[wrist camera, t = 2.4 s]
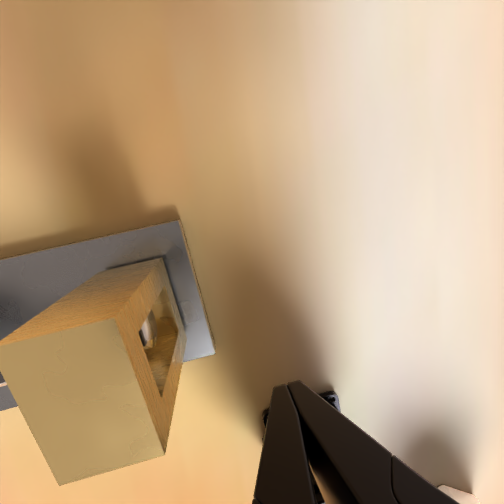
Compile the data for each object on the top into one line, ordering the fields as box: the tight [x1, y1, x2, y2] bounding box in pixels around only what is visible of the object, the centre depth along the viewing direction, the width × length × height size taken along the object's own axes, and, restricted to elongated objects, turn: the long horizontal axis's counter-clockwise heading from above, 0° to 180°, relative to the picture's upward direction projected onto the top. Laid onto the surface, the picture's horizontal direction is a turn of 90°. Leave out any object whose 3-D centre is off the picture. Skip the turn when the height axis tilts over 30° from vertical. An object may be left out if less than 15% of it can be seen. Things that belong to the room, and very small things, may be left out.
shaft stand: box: [0, 219, 215, 411], centre depth 16 cm, size 18×10×6 cm, turn 102°
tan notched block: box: [0, 257, 187, 486], centre depth 14 cm, size 4×6×8 cm, turn 12°
